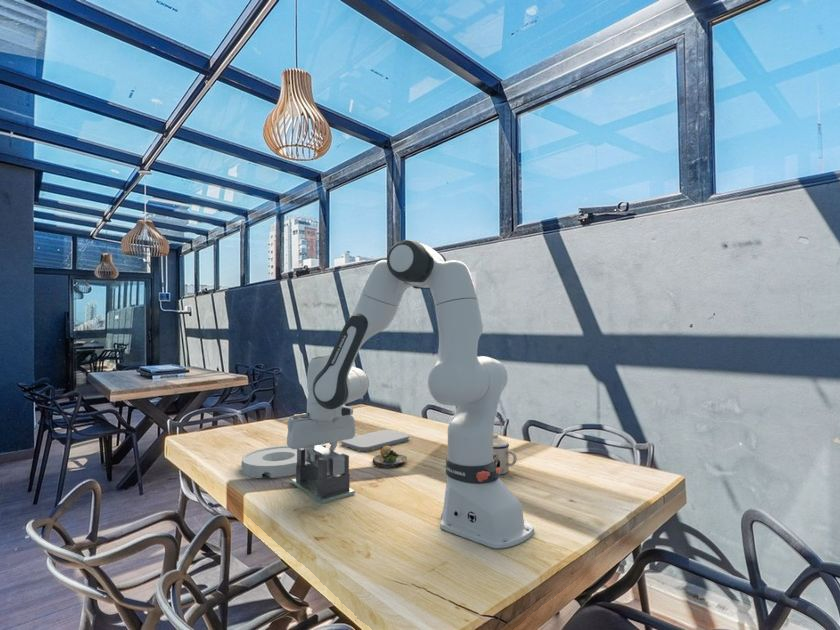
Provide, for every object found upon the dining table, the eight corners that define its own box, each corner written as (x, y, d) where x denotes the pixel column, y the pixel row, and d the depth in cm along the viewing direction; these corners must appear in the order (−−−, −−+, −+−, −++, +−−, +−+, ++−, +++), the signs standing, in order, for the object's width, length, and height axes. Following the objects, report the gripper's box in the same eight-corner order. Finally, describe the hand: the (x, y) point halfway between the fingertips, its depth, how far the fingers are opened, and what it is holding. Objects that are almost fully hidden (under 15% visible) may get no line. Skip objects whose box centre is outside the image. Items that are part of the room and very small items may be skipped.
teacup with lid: (475, 471, 138) (475, 434, 138) (489, 464, 145) (489, 429, 146) (510, 479, 131) (509, 440, 131) (522, 471, 138) (522, 434, 138)
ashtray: (293, 452, 160) (293, 442, 160) (326, 467, 143) (327, 455, 144) (230, 466, 144) (230, 454, 144) (259, 484, 127) (259, 471, 127)
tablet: (337, 445, 170) (337, 440, 170) (386, 434, 188) (386, 429, 189) (363, 454, 158) (363, 448, 159) (412, 440, 177) (412, 435, 177)
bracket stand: (354, 494, 119) (354, 456, 119) (321, 503, 112) (322, 463, 113) (321, 475, 134) (322, 441, 135) (291, 482, 128) (291, 447, 128)
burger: (402, 470, 140) (402, 447, 140) (368, 467, 142) (368, 445, 143) (410, 459, 152) (410, 438, 152) (378, 457, 154) (378, 436, 154)
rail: (344, 473, 117) (344, 456, 117) (332, 476, 115) (333, 459, 115) (312, 456, 132) (312, 441, 133) (301, 458, 130) (301, 443, 130)
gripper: (292, 417, 115) (291, 469, 115) (358, 408, 128) (357, 454, 128) (283, 413, 120) (282, 463, 120) (347, 405, 133) (347, 450, 132)
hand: (322, 459), depth 124 cm, fingers closed on rail, 3 cm apart
